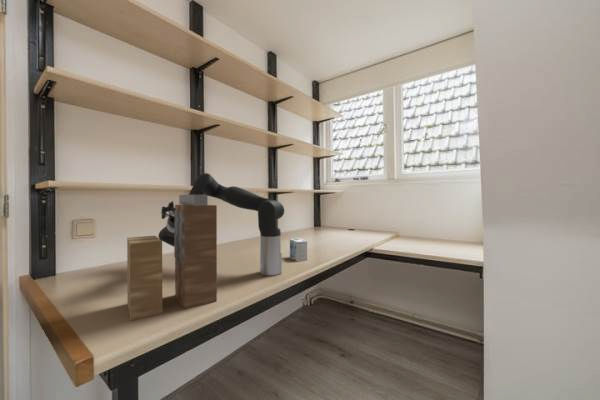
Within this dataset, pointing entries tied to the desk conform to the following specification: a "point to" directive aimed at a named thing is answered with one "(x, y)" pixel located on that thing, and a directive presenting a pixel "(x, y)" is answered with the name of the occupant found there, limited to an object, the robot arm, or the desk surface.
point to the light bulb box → (298, 249)
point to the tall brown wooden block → (195, 254)
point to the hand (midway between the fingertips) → (184, 203)
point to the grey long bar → (193, 200)
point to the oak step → (144, 276)
